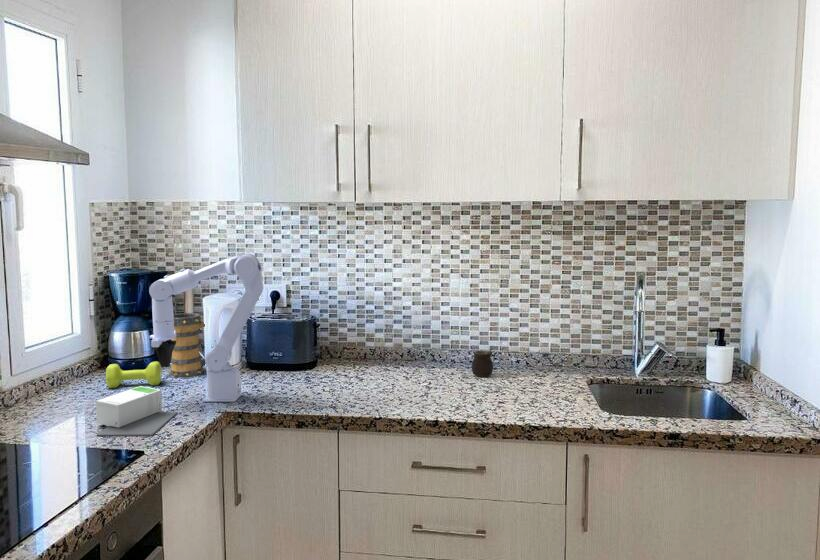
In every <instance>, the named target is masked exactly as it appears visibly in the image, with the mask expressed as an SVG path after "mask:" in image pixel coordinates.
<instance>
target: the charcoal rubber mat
mask: <svg viewBox="0 0 820 560" xmlns="http://www.w3.org/2000/svg"><path fill="white" fill-rule="evenodd" d="M177 414H178V411H160V412H157V413H155V414H152V415H150V416H147V417H144V418H142V419H139V420H137V421H134V422H132V423H129V424H127V425H124V426H122V427H119V428H117V427H112V426H106V427H105V428H104V429H102V430H101V431H100V432H98V433H97V434H96V437H150V436H151V437H152V436H153V435H155V434H156V433H157V432H159V430H160V429H162V428H163V427H164V426H165V425H166V424H167V423H168V422H170V420H172V419H173V418H174V417H175V416H177Z"/></svg>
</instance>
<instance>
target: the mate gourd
mask: <svg viewBox="0 0 820 560" xmlns="http://www.w3.org/2000/svg"><path fill="white" fill-rule="evenodd" d="M493 349H494V347H492V348H491V349H490V350H484V349H483V350H482V349H481V350H475V351H473V360H472V362H471V371H472V374H473V375H474V376H475V377H478V378H488V377H489V376H490V375H492V374H493V371H494V362H493V360H492V358H491V357H492V353H491V351H492V350H493Z"/></svg>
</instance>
